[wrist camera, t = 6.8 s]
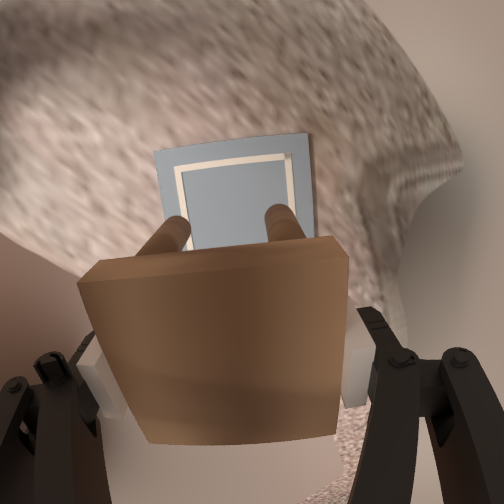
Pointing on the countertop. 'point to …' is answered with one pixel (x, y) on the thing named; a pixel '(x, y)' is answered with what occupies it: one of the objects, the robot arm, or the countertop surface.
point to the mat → (236, 187)
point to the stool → (225, 334)
